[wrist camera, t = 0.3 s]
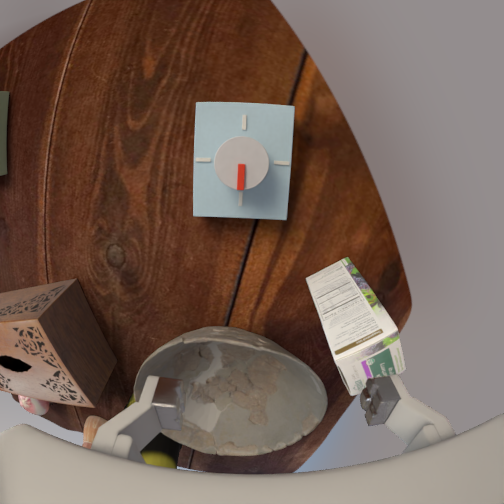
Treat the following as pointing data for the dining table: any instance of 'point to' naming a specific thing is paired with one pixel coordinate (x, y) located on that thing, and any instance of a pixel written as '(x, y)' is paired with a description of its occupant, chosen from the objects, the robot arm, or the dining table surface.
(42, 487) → the robot arm
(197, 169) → the panel
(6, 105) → the button block
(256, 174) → the dial
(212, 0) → the dining table surface
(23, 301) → the tissue box cover
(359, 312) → the syrup box
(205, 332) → the ceramic bowl
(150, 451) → the container
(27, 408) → the onion
